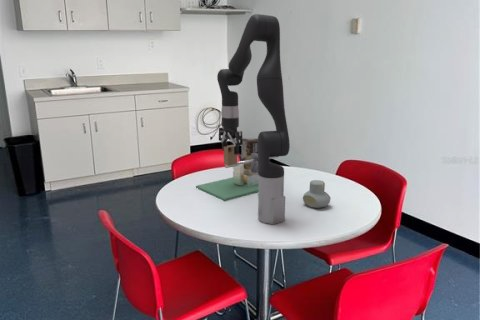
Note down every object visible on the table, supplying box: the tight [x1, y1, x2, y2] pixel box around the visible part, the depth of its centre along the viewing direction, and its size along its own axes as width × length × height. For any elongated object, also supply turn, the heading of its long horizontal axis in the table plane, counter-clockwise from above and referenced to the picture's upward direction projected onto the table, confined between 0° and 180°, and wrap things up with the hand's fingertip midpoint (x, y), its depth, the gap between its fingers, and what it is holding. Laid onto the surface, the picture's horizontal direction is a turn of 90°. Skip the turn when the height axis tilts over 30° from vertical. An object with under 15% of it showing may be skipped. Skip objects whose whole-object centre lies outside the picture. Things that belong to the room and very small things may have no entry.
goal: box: [244, 169, 259, 187], centre depth 197 cm, size 11×6×5 cm, turn 38°
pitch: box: [195, 176, 258, 202], centre depth 193 cm, size 22×24×1 cm
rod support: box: [251, 153, 259, 174], centre depth 200 cm, size 7×2×14 cm, turn 38°
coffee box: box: [241, 138, 258, 171], centre depth 220 cm, size 9×6×16 cm
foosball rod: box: [223, 144, 280, 186], centre depth 198 cm, size 5×31×18 cm, turn 128°
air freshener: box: [302, 179, 331, 209], centre depth 171 cm, size 11×8×10 cm
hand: (230, 152), depth 188 cm, fingers open, 8 cm apart
